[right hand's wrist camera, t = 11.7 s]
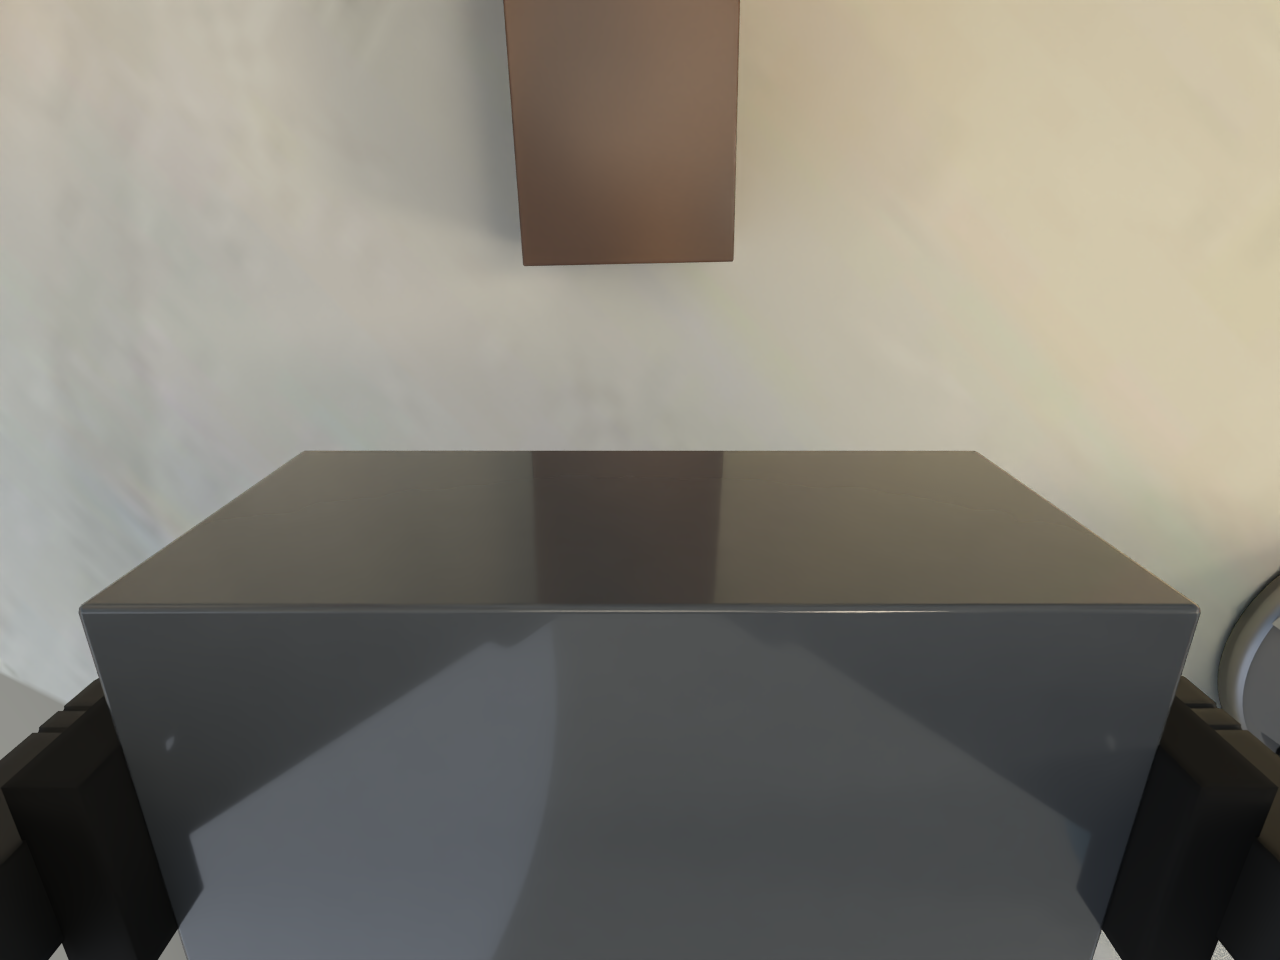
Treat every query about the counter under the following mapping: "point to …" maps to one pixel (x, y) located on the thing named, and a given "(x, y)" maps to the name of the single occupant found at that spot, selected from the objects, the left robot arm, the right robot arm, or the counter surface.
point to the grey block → (639, 709)
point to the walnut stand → (624, 129)
